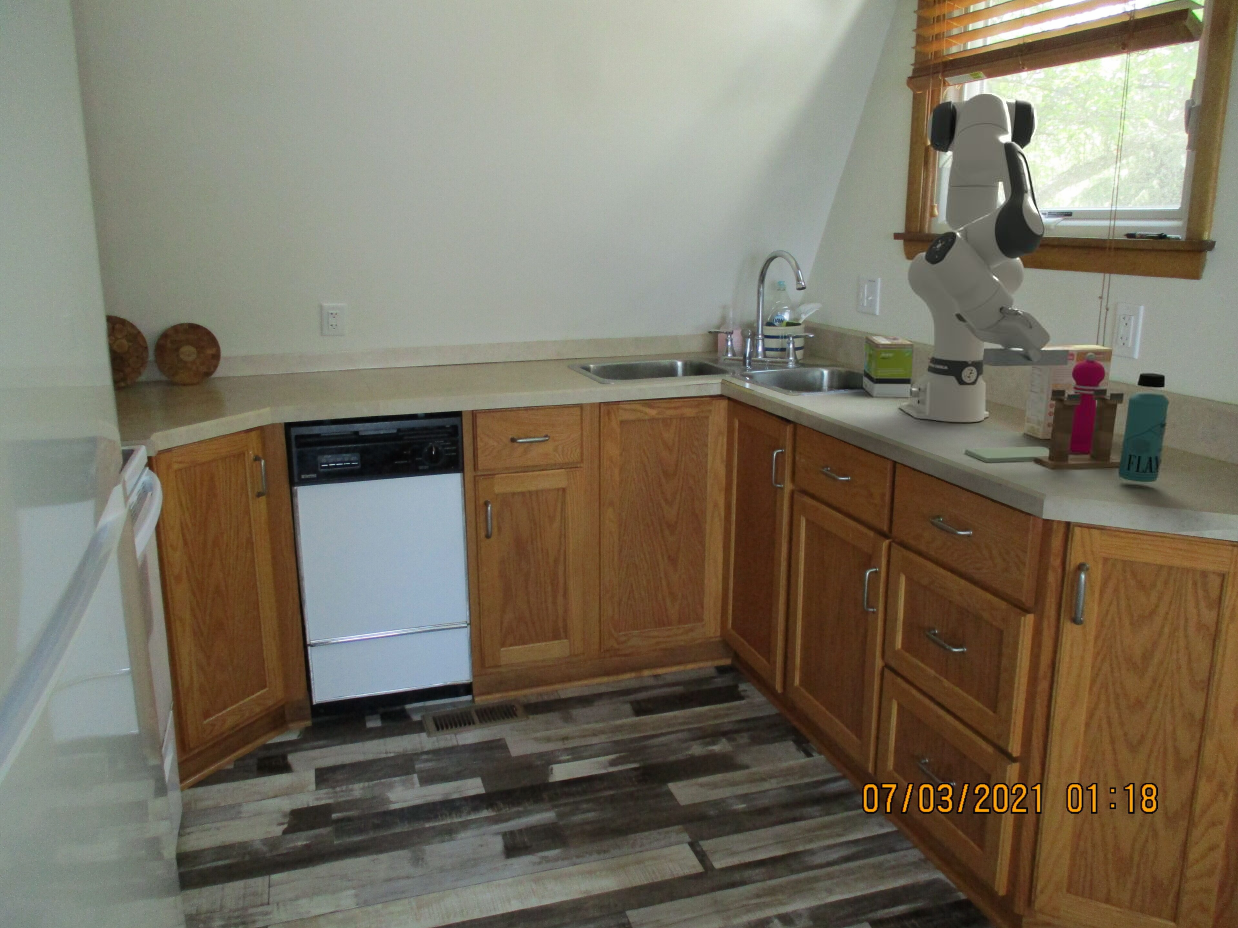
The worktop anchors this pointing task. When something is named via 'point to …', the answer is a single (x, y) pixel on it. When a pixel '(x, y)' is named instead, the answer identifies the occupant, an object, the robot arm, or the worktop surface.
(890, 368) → the tea box
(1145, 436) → the beverage bottle
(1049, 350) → the rail
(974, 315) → the robot arm
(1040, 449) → the mat
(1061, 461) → the stand
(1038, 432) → the coffeecake box
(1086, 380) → the pepper mill
